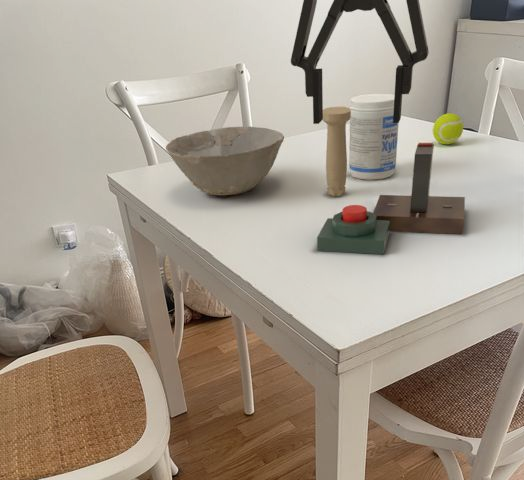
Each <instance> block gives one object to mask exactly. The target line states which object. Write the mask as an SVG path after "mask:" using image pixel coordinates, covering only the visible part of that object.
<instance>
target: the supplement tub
mask: <svg viewBox="0 0 524 480" xmlns="http://www.w3.org/2000/svg"><path fill="white" fill-rule="evenodd" d="M394 96H395V93H368V94H360V95H356V96H353V97H352V98H350V106H349V108H350V110H351V117H350V120H349V148H348V150H349V152H348V153H349V154H348V157H349V159H348V172H349V175H350V176H351V177H353V178H356V179H358V180H369V181H370V180H372V181H373V180H382V179H386V178H390V177H391V176H393V175H394V174H395V173H396V168H397V167H396V166H397V152H398V140H399V139H398V138H399V137H398V136H399V123H393V113H394Z"/></svg>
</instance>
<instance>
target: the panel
mask: <svg viewBox="0 0 524 480" xmlns="http://www.w3.org/2000/svg"><path fill="white" fill-rule="evenodd" d="M465 200H466V196H440V195H439V196H438V195H436V196H435V195H429V199H428V205H427V211H426V212H410V207H411V195H403V194H401V195H399V194H398V195H397V194H379V196H378V198H377V202H376V204H375V207H374V209H373V211H372V213H373V214H375V215H376V216H377V220H386V221H390V232H402V233H423V234H425V233H426V234H446V235H463V233H464V225H465V217H466V216H465V212H466V211H465V210H466V208H465V207H466V206H465V205H466V201H465Z"/></svg>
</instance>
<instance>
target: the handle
mask: <svg viewBox="0 0 524 480" xmlns="http://www.w3.org/2000/svg"><path fill="white" fill-rule="evenodd" d="M350 117H351V110H350V107H347V106H330V107H326V108H323V120H322V121H323V122H324V123H326V129H327V132H326V135H327V136H326V151H325V152H326V154H325V177H326V185H327V188H326V190H327V194H328V195H329V196H331V197H341V196H343V195H344V194H345V193H346V184H347V183H346V182H347V173H348V154H347V153H348V152H347V130H346V127H347V122H348V121H350Z"/></svg>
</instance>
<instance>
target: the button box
mask: <svg viewBox="0 0 524 480" xmlns="http://www.w3.org/2000/svg"><path fill="white" fill-rule="evenodd" d="M390 233H391V231H390V221H386V220H377V216H376V215H375V214H373V211H372V212H371V211H368V210H367V219H366V221H364V222H358V223H348V222H345V221H343V210H342V211H340V212H338V213H336V214H334V215H333V217H331V218H330V217H328V218H327V219H326V221H325V222H324V224H323V226H322V228H321V229H320V231H319V234H318V235H317V237H316V250H317V252H334V253H335V252H336V253H353V254H373V255H384V254H385V250H386V246H387V242H388V240H389V237H390Z"/></svg>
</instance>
